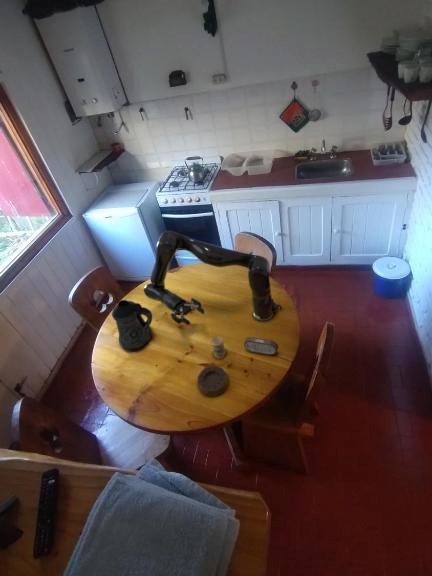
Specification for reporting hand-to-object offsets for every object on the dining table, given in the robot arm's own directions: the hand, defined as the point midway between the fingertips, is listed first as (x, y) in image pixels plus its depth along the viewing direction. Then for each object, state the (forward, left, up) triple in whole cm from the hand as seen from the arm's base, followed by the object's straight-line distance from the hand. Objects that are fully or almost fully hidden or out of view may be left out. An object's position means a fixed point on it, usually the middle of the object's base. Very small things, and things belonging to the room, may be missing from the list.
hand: (196, 317), depth 155 cm
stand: (+7, +23, -17) cm, 29 cm away
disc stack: (-3, +11, -17) cm, 20 cm away
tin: (-19, +21, -17) cm, 33 cm away
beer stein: (+25, -22, -17) cm, 37 cm away
